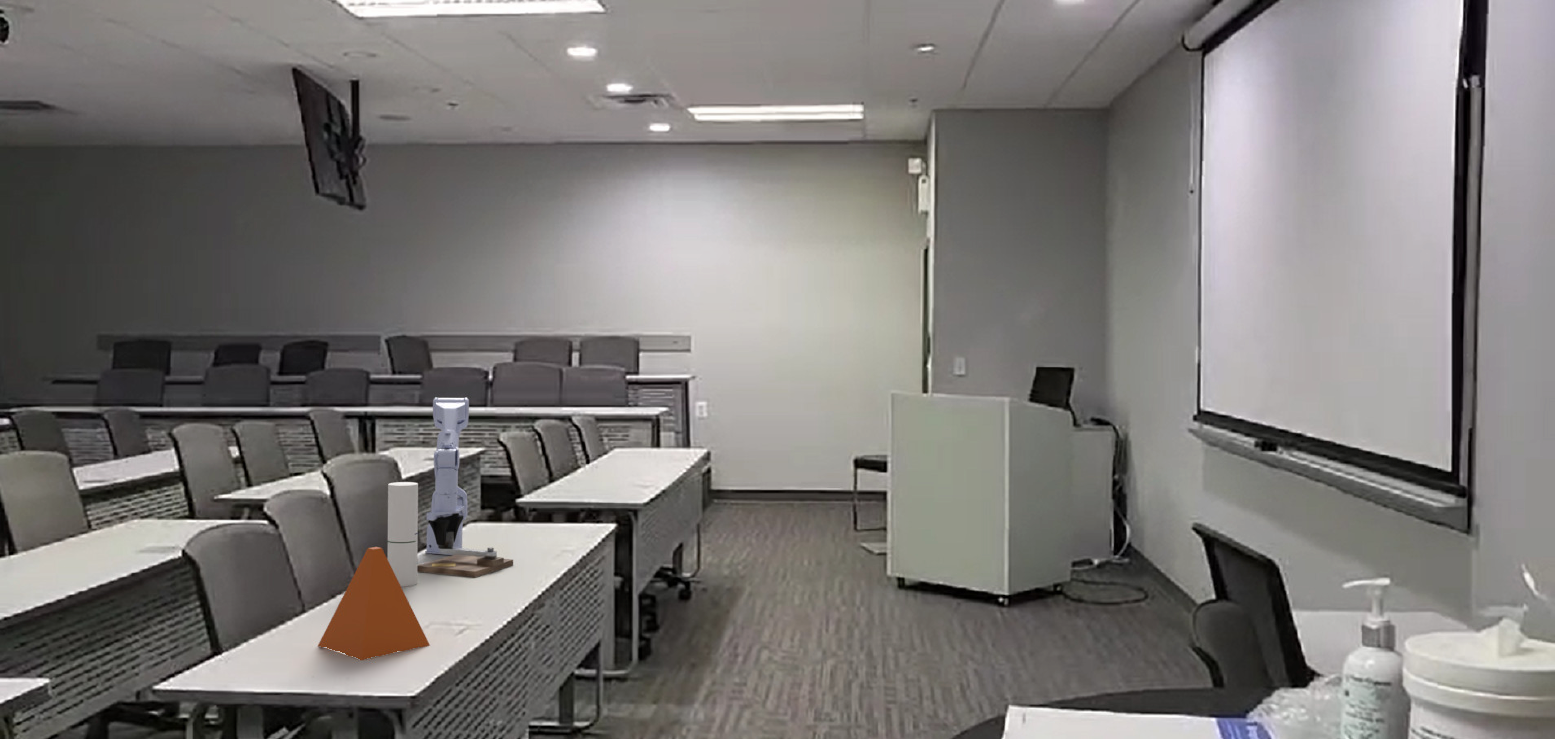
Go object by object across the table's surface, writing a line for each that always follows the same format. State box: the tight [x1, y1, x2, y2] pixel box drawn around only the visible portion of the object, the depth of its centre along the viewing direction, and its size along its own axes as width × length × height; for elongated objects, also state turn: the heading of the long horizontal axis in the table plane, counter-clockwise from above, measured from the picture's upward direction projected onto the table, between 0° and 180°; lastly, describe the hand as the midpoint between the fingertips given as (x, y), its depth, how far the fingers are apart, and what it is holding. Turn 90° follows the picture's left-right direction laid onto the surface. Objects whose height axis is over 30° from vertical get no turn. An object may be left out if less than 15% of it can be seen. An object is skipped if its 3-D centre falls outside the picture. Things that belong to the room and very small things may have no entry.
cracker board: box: [417, 555, 514, 578], centre depth 332 cm, size 18×18×3 cm
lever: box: [438, 530, 498, 558], centre depth 333 cm, size 18×4×6 cm, turn 70°
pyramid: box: [317, 546, 431, 661], centre depth 251 cm, size 16×16×20 cm
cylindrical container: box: [387, 481, 419, 587], centre depth 311 cm, size 7×7×25 cm
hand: (445, 543), depth 335 cm, fingers closed on lever, 4 cm apart
